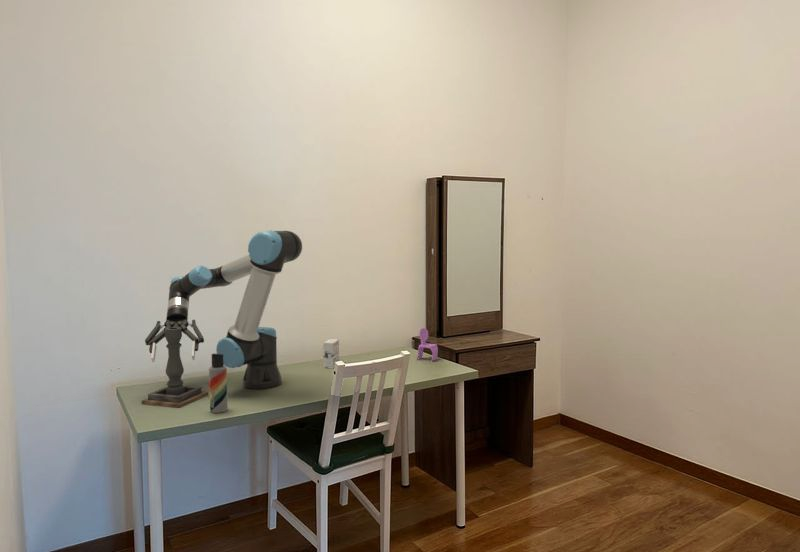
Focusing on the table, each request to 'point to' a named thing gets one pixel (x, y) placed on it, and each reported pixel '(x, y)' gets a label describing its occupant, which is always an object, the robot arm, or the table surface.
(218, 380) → the lotion bottle
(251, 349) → the robot arm
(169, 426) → the table surface
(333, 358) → the ink box
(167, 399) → the socket plate
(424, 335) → the toy chair
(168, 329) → the candle holder
